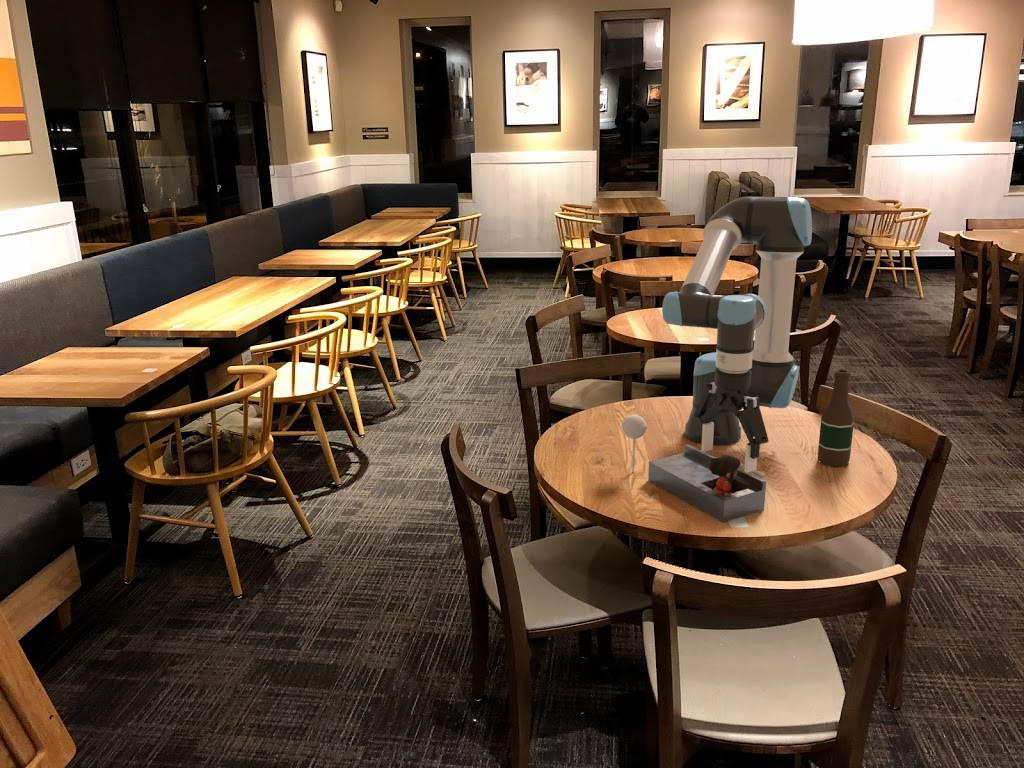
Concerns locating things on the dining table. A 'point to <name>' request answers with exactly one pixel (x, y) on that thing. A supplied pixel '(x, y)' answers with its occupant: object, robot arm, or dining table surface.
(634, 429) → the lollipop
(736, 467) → the figurine
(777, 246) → the robot arm
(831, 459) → the beer bottle
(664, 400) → the dining table surface
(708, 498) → the grey box with compartment
